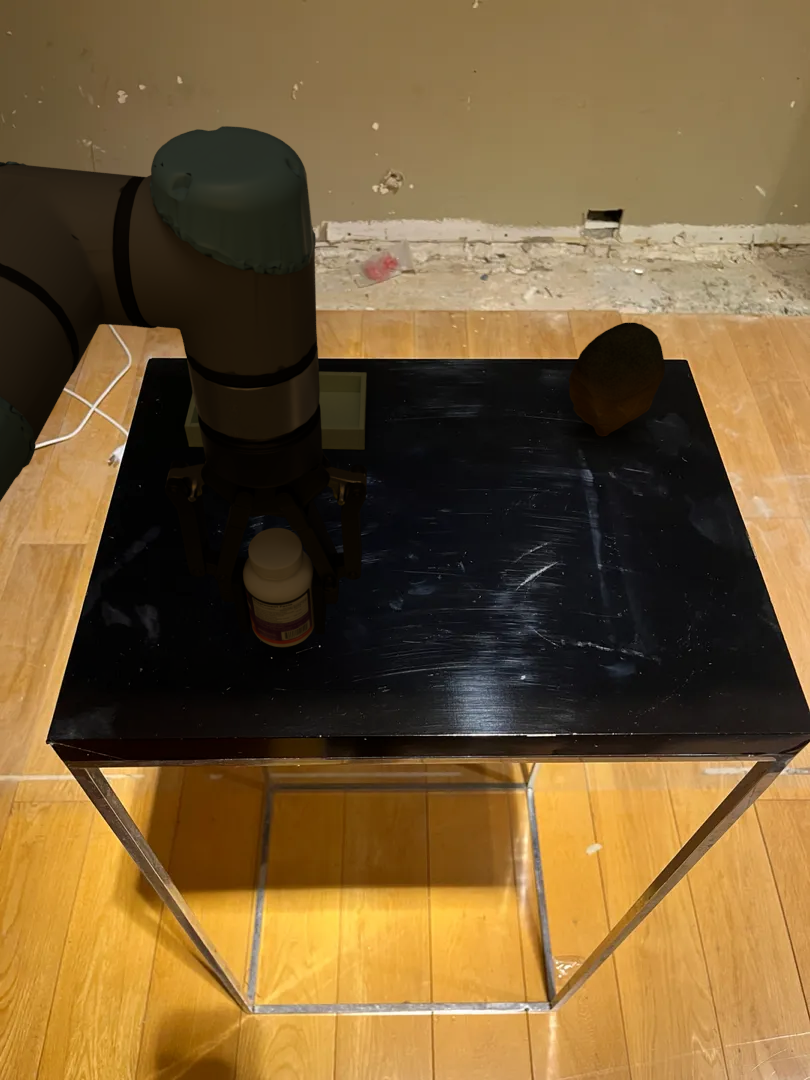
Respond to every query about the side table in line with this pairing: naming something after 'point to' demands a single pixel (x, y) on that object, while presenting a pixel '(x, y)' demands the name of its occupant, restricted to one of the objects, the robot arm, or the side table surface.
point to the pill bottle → (279, 588)
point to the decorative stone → (617, 377)
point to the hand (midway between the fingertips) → (283, 619)
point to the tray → (322, 412)
